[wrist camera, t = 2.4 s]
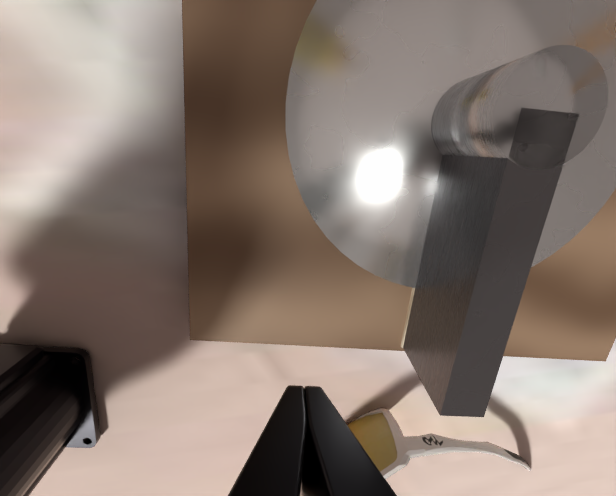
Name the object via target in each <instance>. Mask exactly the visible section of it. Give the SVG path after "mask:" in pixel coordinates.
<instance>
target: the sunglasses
mask: <svg viewBox="0 0 616 496" xmlns="http://www.w3.org/2000/svg"><path fill="white" fill-rule="evenodd" d="M348 427H349V428H350V430H351V431H352V433H353V434H354V435H355V437H356V438H357V440H358V441H359V443H360V444H361V445H362V447H363V448H364V450H365V451H366V453H367V454H368V455H369V457H370V458H371V460H372V461H373V463H374V464H375V465H376V467H377V468H378V470H379V471H380V473H381V474H382V475H383V477H384V478H385V479H387V478H388V477H390V476H391V475H393V474H394V473H396V472H397V471H399V470H400V469H402V468H404V467H405V466H407V464H408V462H409V460H410V458H415V457H421V456H429V455H437V454H444V453H451V452H479V453H485V454H491V455H496V456H499V457H501V458H504V459H506V460H509V461H511V462H514V463H517V464H520V465H522V466H524V467H525V468H526V469H527V470H529V471H531V468H530V466H529V465H528V464H527V463H526V462H525V460H524V459H523V458H522V457H520V456H519V455H517V454H515V453H512V452H510V451H508V450H505V449H503V448H501V447H499V446H496V445H494V444H491V443H489V442H473V441H462V440H456V439H451V438H446V437H442V436H438V435H435V434H426V435H422V436H411V437H404V436H403V434H402V431H401V429H400V427H399V425H398V423H397V421H396V420H395V418H394V417H393V416H392V414H391V413H390V411H389V410H387V409H383V408H379V409H376V410H374V411H371V412H369V413H366V414H364V415H361V416H360V417H358V418H357V419H356V420H355V421H353V422H351V423H349V424H348ZM300 496H302V492H300Z"/></svg>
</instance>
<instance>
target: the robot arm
mask: <svg viewBox="0 0 616 496" xmlns="http://www.w3.org/2000/svg"><path fill="white" fill-rule="evenodd" d="M76 357H78V358H79V359H80V360H78V359H77V358H76ZM99 439H100V430H99V422H98V415H97V407H96V400H95V392H94V384H93V377H92V369H91V362H90V356H89V353H88V352H87V351H86V350H84V349H81V348H67V347H46V346H36V345H15V344H0V496H29V494H30V493H31V492H32V491H33V489H34V488H35V487H36V485H37V484H38V483H39V481H40V480H41V479H42V477H43V476H44V475H45V473H46V472H47V471H48V469H49V468H50V467H51V466H52V464H53V463H54V462H55V460H56V459H57V458H58V456H59V455H60V454H61V452H62V451H63V450H64V448H65V447H75V448H91V447H94V446H95V445H96V443H97V442H98V440H99ZM300 492H302V496H397V495H396V494H395V493H394V491H393V490H392V488H391V487H390V485H389V484H388V483H387V481H386V480H385V478H384V477H383V475H382V474H381V473H380V471H379V470H378V468H377V467H376V465H375V464H374V463H373V461H372V460H371V458H370V457H369V455H368V454H367V453H366V451H365V450H364V448H363V447H362V445H361V444H360V443H359V441H358V440H357V438H356V437H355V435H354V434H353V433H352V431H351V430H350V428H349V427H348V425H347V424H346V423H345V421H344V420H343V418H342V417H341V415H340V414H339V413H338V411H337V410H336V408H335V407H334V405H333V404H332V403H331V401H330V400H329V398H328V397H327V395H326V394H325V393H324V391H323V390H322V388H321V387H316V386H306V387H305V388H303V386H291V385H290V386H288V387H287V388H286V390H285V392H284V393H283V395H282V397H281V399H280V401H279V403H278V404H277V406H276V408H275V410H274V412H273V414H272V415H271V417H270V419H269V421H268V423H267V425H266V427H265V428H264V430H263V432H262V434H261V436H260V438H259V439H258V441H257V443H256V445H255V447H254V449H253V450H252V452H251V454H250V456H249V458H248V460H247V461H246V463H245V465H244V467H243V469H242V471H241V473H240V474H239V476H238V478H237V480H236V482H235V484H234V485H233V487H232V489H231V491H230V493H229V495H228V496H300Z"/></svg>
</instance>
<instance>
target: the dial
mask: <svg viewBox="0 0 616 496" xmlns="http://www.w3.org/2000/svg"><path fill="white" fill-rule="evenodd" d="M286 138H287V146H288V154H289V159H290V163H291V167H292V171H293V175H294V179H295V181H296V184H297V186H298V189H299V192H300V194H301V197H302V199H303V201H304V203H305V205H306V207H307V209H308V210H309V212H310V214H311V216H312V218H313V219H314V221H315V222H316V224H317V225H318V226H319V228H320V229H321V230H322V232H323V233H324V234H325V236H326V237H327V238H328V239H329V240H330V241H331V242H332V243H333V244H334V245H335V246H336V248H337V249H338V250H339V251H340V252H341V253H343V254H344V255H345V256H346V257H348V258H349V259H350V260H352V261H353V262H354V263H356V264H357V265H358V266H360V267H362V268H363V269H365V270H367V271H369V272H370V273H372V274H374V275H376V276H378V277H381V278H383V279H386V280H388V281H390V282H393V283H396V284H400V285H404V286H408V287H412V288H415V291H414V296H413V301H412V306H411V311H410V316H409V321H408V326H407V330H406V335H405V340H404V345H403V348H404V350H405V352H406V354H407V356H408V358H409V359H410V361H411V363H412V365H413V367H414V369H415V370H416V372H417V374H418V376H419V378H420V380H421V381H422V383H423V385H424V387H425V389H426V391H427V392H428V394H429V396H430V398H431V400H432V402H433V403H434V405H435V407H436V409H437V411H438V413H439V414H440V415H443V416H470V417H484V415H485V411H486V408H487V405H488V402H489V399H490V396H491V392H492V389H493V386H494V383H495V380H496V377H497V373H498V370H499V367H500V364H501V361H502V358H503V354H504V351H505V348H506V345H507V342H508V339H509V335H510V332H511V329H512V326H513V323H514V320H515V316H516V313H517V310H518V307H519V304H520V301H521V297H522V294H523V291H524V288H525V285H526V282H527V278H528V275H529V272H530V269H531V267H533V266H535V265H536V264H538V263H539V262H541V261H543V260H544V259H546V258H547V257H549V256H551V255H552V254H554V253H555V252H556V251H557V250H559V249H560V248H561V247H563V246H564V245H565V244H566V243H568V242H569V241H570V240H571V239H572V238H574V237H575V236H576V235H577V234H578V233H579V232H580V231H581V230H582V229H583V228H584V227H585V226H586V225H587V224H588V223H589V222H590V221H591V220H592V219H593V217H594V216H595V215H596V214H597V213H598V212H599V210H600V209H601V208H602V207H603V206H604V204H605V203H606V202H607V200H608V199H609V197H610V196H611V194H612V193H613V192H614V190H615V189H616V0H317V1H316V3H315V4H314V6H313V8H312V10H311V12H310V14H309V16H308V18H307V20H306V22H305V25H304V28H303V30H302V33H301V36H300V38H299V41H298V43H297V46H296V49H295V53H294V58H293V62H292V66H291V70H290V74H289V80H288V88H287V96H286Z"/></svg>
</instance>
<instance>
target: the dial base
mask: <svg viewBox="0 0 616 496" xmlns="http://www.w3.org/2000/svg"><path fill="white" fill-rule="evenodd" d="M316 1H317V0H182V20H183V63H184V106H185V148H186V191H187V234H188V277H189V319H190V340H203V341H222V342H242V343H261V344H280V345H300V346H319V347H339V348H358V349H378V350H397V351H405V350H404V348H403V345H404V340H405V335H406V330H407V326H408V321H409V316H410V311H411V306H412V301H413V296H414V291H415V288H412V287H408V286H404V285H400V284H396V283H393V282H390V281H388V280H386V279H383V278H381V277H378V276H376V275H374V274H372V273H370V272H369V271H367V270H365V269H363V268H362V267H360V266H358V265H357V264H356V263H354V262H353V261H352V260H350V259H349V258H348V257H346V256H345V255H344V254H343V253H341V252H340V251H339V250H338V249H337V248H336V246H335V245H334V244H333V243H332V242H331V241H330V240H329V239H328V238H327V237H326V236H325V234H324V233H323V232H322V230H321V229H320V228H319V226H318V225H317V224H316V222H315V221H314V219H313V218H312V216H311V214H310V212H309V210H308V209H307V207H306V205H305V203H304V201H303V199H302V197H301V194H300V192H299V189H298V186H297V184H296V181H295V179H294V175H293V171H292V167H291V163H290V159H289V154H288V146H287V138H286V96H287V88H288V80H289V74H290V70H291V66H292V62H293V58H294V53H295V49H296V46H297V43H298V41H299V38H300V36H301V33H302V30H303V28H304V25H305V22H306V20H307V18H308V16H309V14H310V12H311V10H312V8H313V6H314V4H315V3H316ZM615 338H616V189H615V190H614V192H613V193H612V194H611V196H610V197H609V199H608V200H607V202H606V203H605V204H604V206H603V207H602V208H601V209H600V210H599V212H598V213H597V214H596V215H595V216H594V217H593V219H592V220H591V221H590V222H589V223H588V224H587V225H586V226H585V227H584V228H583V229H582V230H581V231H580V232H579V233H578V234H577V235H576V236H575V237H574V238H572V239H571V240H570V241H569V242H568V243H566V244H565V245H564V246H563V247H561V248H560V249H559V250H557V251H556V252H555V253H554V254H552V255H551V256H549V257H547V258H546V259H544V260H543V261H541V262H539V263H538V264H536V265H535V266H533V267H531V269H530V272H529V275H528V278H527V282H526V285H525V288H524V291H523V294H522V297H521V301H520V304H519V307H518V310H517V313H516V316H515V320H514V323H513V326H512V329H511V332H510V335H509V339H508V342H507V345H506V348H505V351H504V354H503V356H513V357H533V358H552V359H572V360H591V361H606V359H607V357H608V355H609V352H610V350H611V348H612V345H613V343H614V341H615Z"/></svg>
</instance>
